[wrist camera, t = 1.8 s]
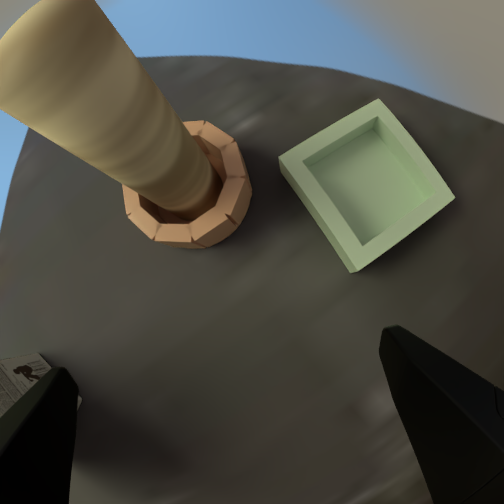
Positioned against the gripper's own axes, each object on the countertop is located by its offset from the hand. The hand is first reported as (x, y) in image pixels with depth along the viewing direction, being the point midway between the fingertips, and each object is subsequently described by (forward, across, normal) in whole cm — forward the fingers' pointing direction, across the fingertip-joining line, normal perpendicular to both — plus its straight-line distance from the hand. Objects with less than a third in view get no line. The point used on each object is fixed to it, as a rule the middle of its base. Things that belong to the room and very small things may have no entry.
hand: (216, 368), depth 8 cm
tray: (+13, -10, 0) cm, 16 cm away
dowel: (+15, +2, 0) cm, 15 cm away
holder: (+16, +2, 0) cm, 16 cm away
